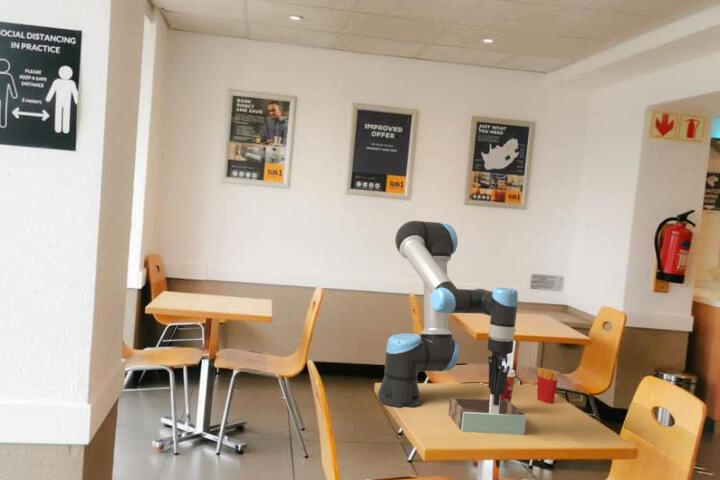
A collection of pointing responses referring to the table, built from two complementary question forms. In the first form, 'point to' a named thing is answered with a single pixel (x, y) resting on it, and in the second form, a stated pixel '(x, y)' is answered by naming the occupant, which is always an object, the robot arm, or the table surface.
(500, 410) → the crate
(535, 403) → the table surface
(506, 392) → the coffee cup
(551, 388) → the french fries
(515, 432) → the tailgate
